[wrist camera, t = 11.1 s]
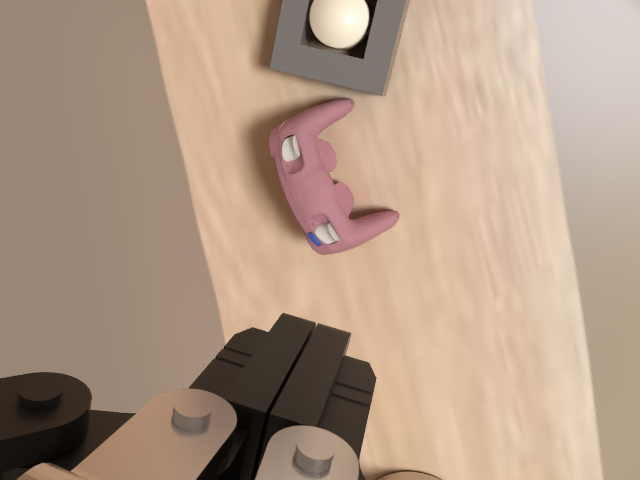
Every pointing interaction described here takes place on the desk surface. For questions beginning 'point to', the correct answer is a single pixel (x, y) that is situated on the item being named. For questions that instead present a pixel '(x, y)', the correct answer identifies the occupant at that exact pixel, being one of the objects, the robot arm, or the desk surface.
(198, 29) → the desk surface
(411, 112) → the desk surface
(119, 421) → the robot arm
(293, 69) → the button panel
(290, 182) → the video game controller
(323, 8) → the cream button
